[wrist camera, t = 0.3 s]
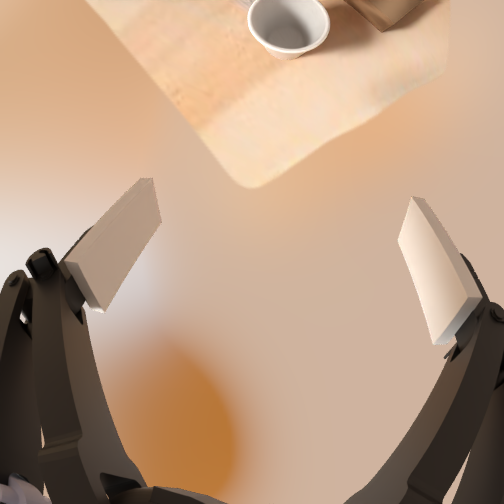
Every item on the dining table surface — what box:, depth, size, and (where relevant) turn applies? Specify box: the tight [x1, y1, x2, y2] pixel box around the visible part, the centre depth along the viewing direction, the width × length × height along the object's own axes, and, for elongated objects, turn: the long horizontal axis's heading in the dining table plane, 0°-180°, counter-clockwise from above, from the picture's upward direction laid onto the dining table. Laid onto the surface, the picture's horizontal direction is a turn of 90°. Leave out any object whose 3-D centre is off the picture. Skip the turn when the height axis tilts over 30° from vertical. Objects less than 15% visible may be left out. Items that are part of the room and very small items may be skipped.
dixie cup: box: [248, 0, 330, 60], centre depth 24 cm, size 8×8×10 cm
